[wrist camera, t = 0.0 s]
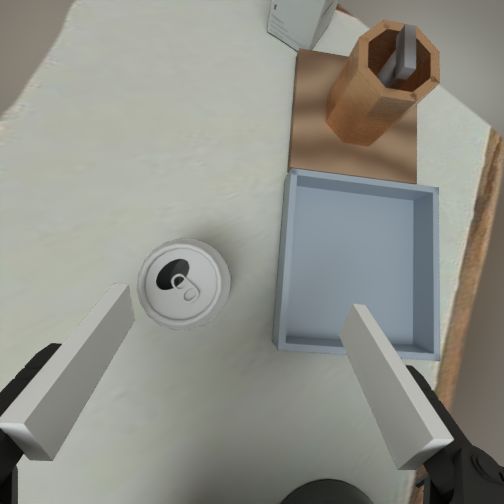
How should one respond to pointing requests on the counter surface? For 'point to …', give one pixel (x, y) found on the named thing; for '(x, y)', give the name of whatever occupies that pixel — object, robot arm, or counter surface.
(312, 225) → the tray
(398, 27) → the mug
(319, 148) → the stake stand
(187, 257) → the can
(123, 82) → the counter surface
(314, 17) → the supplement box
